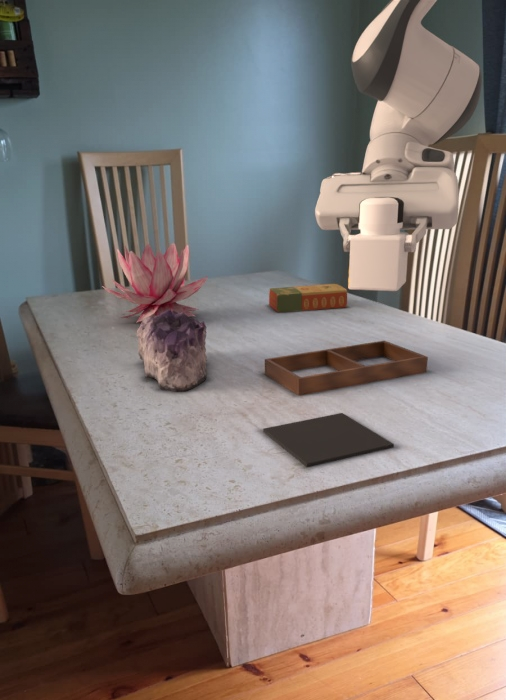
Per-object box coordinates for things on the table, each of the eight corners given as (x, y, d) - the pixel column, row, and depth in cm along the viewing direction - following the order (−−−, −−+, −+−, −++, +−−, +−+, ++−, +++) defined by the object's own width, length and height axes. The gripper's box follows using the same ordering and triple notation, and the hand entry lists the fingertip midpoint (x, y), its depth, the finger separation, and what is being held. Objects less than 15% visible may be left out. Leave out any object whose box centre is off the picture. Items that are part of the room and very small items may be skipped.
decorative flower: (100, 334, 123) (89, 254, 117) (118, 311, 142) (109, 242, 136) (208, 329, 123) (203, 250, 117) (211, 308, 143) (207, 239, 136)
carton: (347, 308, 138) (348, 288, 136) (276, 313, 135) (276, 293, 134) (336, 301, 145) (336, 282, 143) (268, 305, 143) (268, 286, 141)
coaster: (341, 416, 79) (342, 412, 78) (393, 448, 69) (393, 443, 69) (263, 432, 75) (263, 428, 74) (306, 468, 65) (307, 463, 65)
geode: (230, 387, 90) (218, 321, 86) (152, 406, 89) (135, 339, 84) (205, 347, 108) (194, 290, 103) (140, 362, 106) (126, 305, 102)
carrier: (383, 355, 103) (384, 340, 102) (426, 372, 94) (428, 356, 93) (264, 374, 95) (264, 358, 94) (298, 396, 86) (298, 378, 85)
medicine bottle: (358, 281, 94) (361, 196, 89) (406, 283, 92) (412, 195, 87) (347, 289, 88) (350, 199, 83) (398, 291, 86) (404, 198, 81)
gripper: (320, 158, 92) (303, 234, 88) (464, 152, 86) (454, 233, 81) (326, 189, 98) (311, 262, 94) (462, 185, 91) (452, 264, 87)
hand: (378, 249), depth 87 cm, fingers closed on medicine bottle, 7 cm apart
